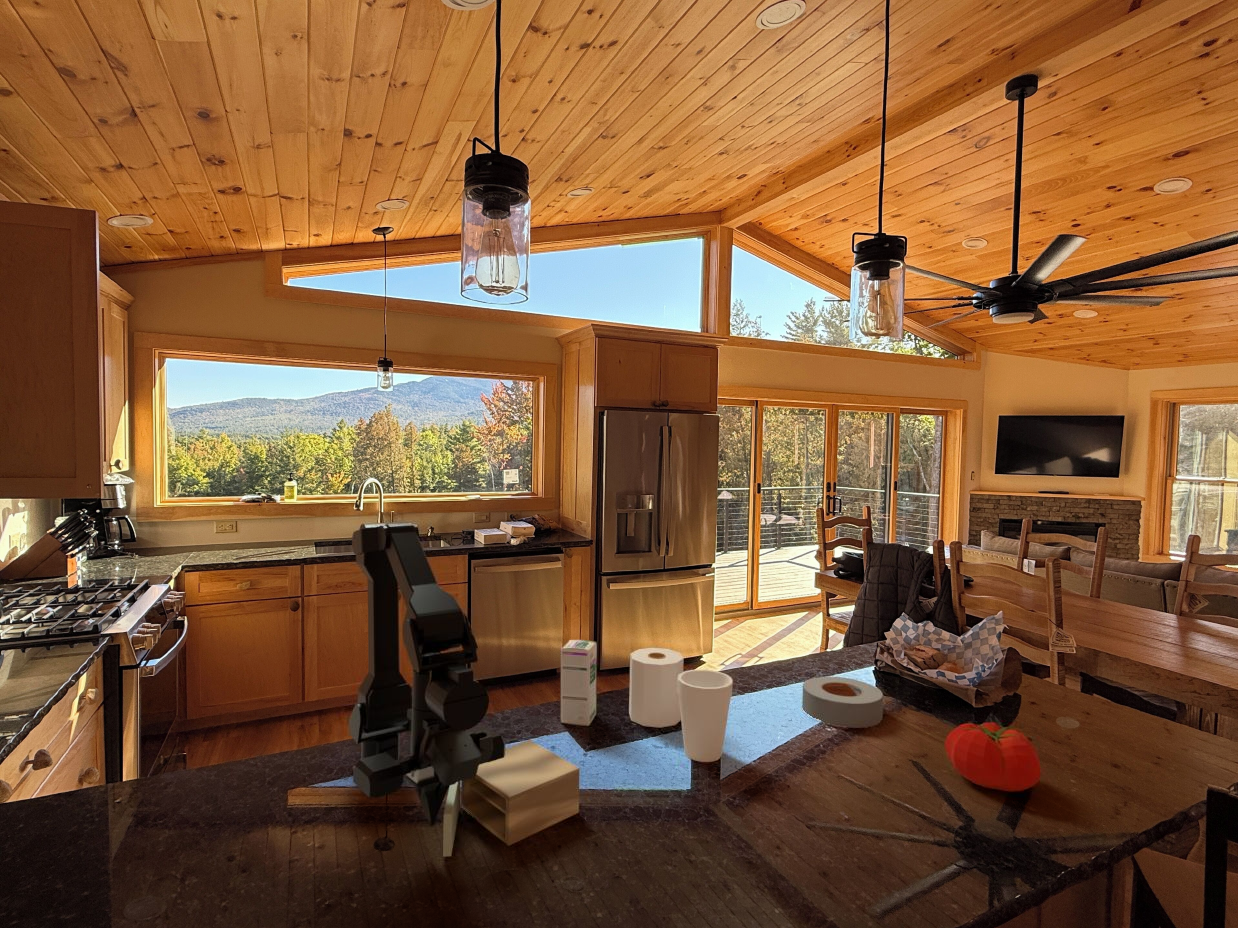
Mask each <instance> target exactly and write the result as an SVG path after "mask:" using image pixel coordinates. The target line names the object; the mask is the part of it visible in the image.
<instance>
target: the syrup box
mask: <svg viewBox="0 0 1238 928" xmlns="http://www.w3.org/2000/svg"><path fill="white" fill-rule="evenodd" d="M597 645H598V644H597V642H596V641H594V640H593V641H592V640H586V639H569V640H568V642H566V643H565V644H564V645H563V647H561V649H560V723H561V724H566V725H567V724H568V725H575V726H576V725H577V726H585V727H586V726H590V725H591V723H592V722H593V720H594V718H595V716H596V715H597V684H598V683H597V681H598V680H597V671H598V670H597V655H598V654H597V651H598V650H597V649H598V648H597Z"/></svg>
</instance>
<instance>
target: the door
mask: <svg viewBox="0 0 1238 928" xmlns="http://www.w3.org/2000/svg"><path fill="white" fill-rule="evenodd" d="M446 797H447V798H446V801H445V806H444V811H443V826H442V828H443V831H442V832H443V833H442V846H443V847H442V856H443V858H445V857H452V853H453V848H454V842H455V836H456V830H457V825H458V818H459V813H460V808H461V781H459V782H456V783H455V784H453V785H450V787H449V789H448V791H447V796H446Z"/></svg>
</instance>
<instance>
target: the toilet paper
mask: <svg viewBox="0 0 1238 928" xmlns="http://www.w3.org/2000/svg"><path fill="white" fill-rule="evenodd" d="M629 655H630V656H629V657H630V659H629V661H630V662H629V695H628V696H629V701H628V702H629V704H628V714H629V718H630V720H631V721H632V722H634V723H635V724H638V725H641V726H643V727H652V728H660V729H661V728H664V727H672V726H676V725H677V724H678V723H679V722H681V713H680V703H679V694H678V693H677V682H678V675H679V674H681V673H682V672H684V656H683V655H682V654H681V652H679V651H675V650H673V649H670V648H662V647H661V648H659V647H647V648H640V649H636V650H635V651H633V652H631V653H630V654H629Z"/></svg>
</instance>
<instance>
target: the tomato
mask: <svg viewBox="0 0 1238 928" xmlns="http://www.w3.org/2000/svg"><path fill="white" fill-rule="evenodd" d="M1007 728H1009V727H1008V726H1006V727H1005V726H1003V727H1002V728H1001V727H999V725H998V724H997V723H995V722H984V723H982V724H977V723H976V724H974V723H972V722H968V723H963V724H960V725H958V726H957V727H955V728H954V729H953V730H951V732H950V733H949V734H948V735H947V736H946V737H945V741H944V749H945V753H946V754H947V756H948V759H949V760H950V762H951V763H952V765H953V767H954V768H955V770H956V771H957V772H958V773H959V774H960V775H961V776H962V777H963V778H965V779H967V780H969V781H970V782H972V784H975V785H978V786H980V787H984V788H987V789H993V790H999V791H1003V792H1022V791H1024V790H1028V789H1029V788H1032V787H1034V786H1036V785H1037V784H1038V782H1039V781H1040V778H1041V775H1042V767H1041V763H1040V757H1039V755H1038V753H1037V751H1036V749H1035V747H1034V746H1033V744H1032V743H1031V742H1030V741H1029V740H1028V738H1027V737H1026V736H1025V735H1024V734H1023V733H1021V732H1019V731H1017V730H1015V729H1007Z"/></svg>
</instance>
